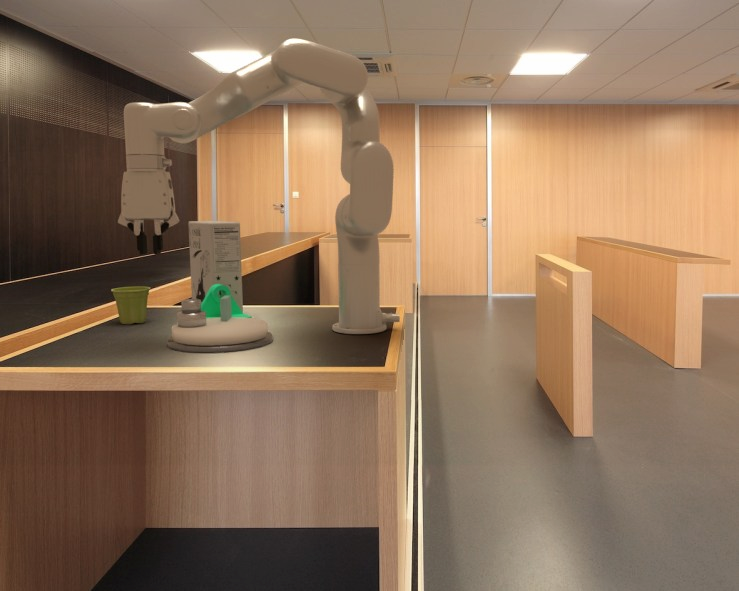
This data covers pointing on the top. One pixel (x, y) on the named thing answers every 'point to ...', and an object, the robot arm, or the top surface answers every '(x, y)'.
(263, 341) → the turntable base
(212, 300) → the camera mount
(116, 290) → the plant pot
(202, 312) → the cover
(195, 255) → the cereal box
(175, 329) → the turntable
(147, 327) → the top surface
